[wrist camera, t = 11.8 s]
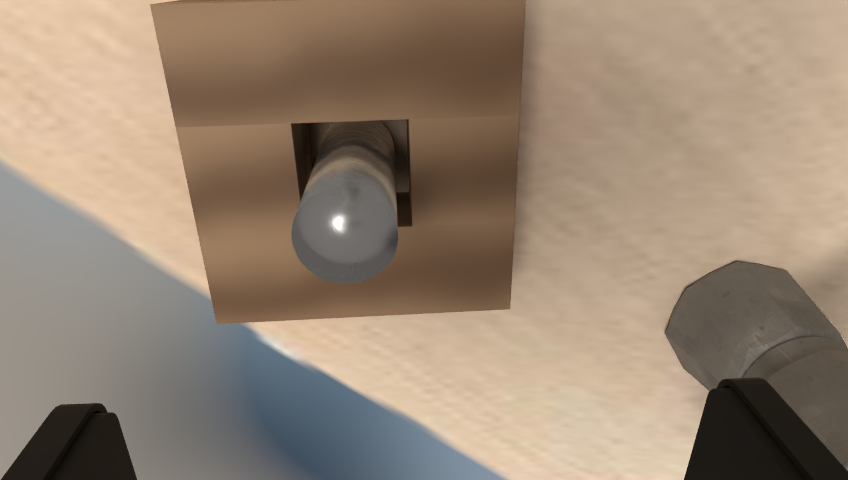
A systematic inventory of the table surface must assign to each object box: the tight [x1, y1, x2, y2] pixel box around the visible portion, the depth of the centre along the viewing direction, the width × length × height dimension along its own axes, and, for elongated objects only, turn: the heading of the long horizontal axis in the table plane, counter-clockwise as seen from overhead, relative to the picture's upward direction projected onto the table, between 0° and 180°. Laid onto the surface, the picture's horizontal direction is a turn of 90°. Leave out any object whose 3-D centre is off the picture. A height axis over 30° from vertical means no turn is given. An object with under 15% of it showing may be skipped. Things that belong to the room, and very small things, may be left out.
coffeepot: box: [665, 261, 848, 471], centre depth 31 cm, size 15×9×18 cm, turn 144°
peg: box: [291, 120, 398, 284], centre depth 27 cm, size 4×4×12 cm
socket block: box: [150, 0, 525, 324], centre depth 30 cm, size 16×16×5 cm
